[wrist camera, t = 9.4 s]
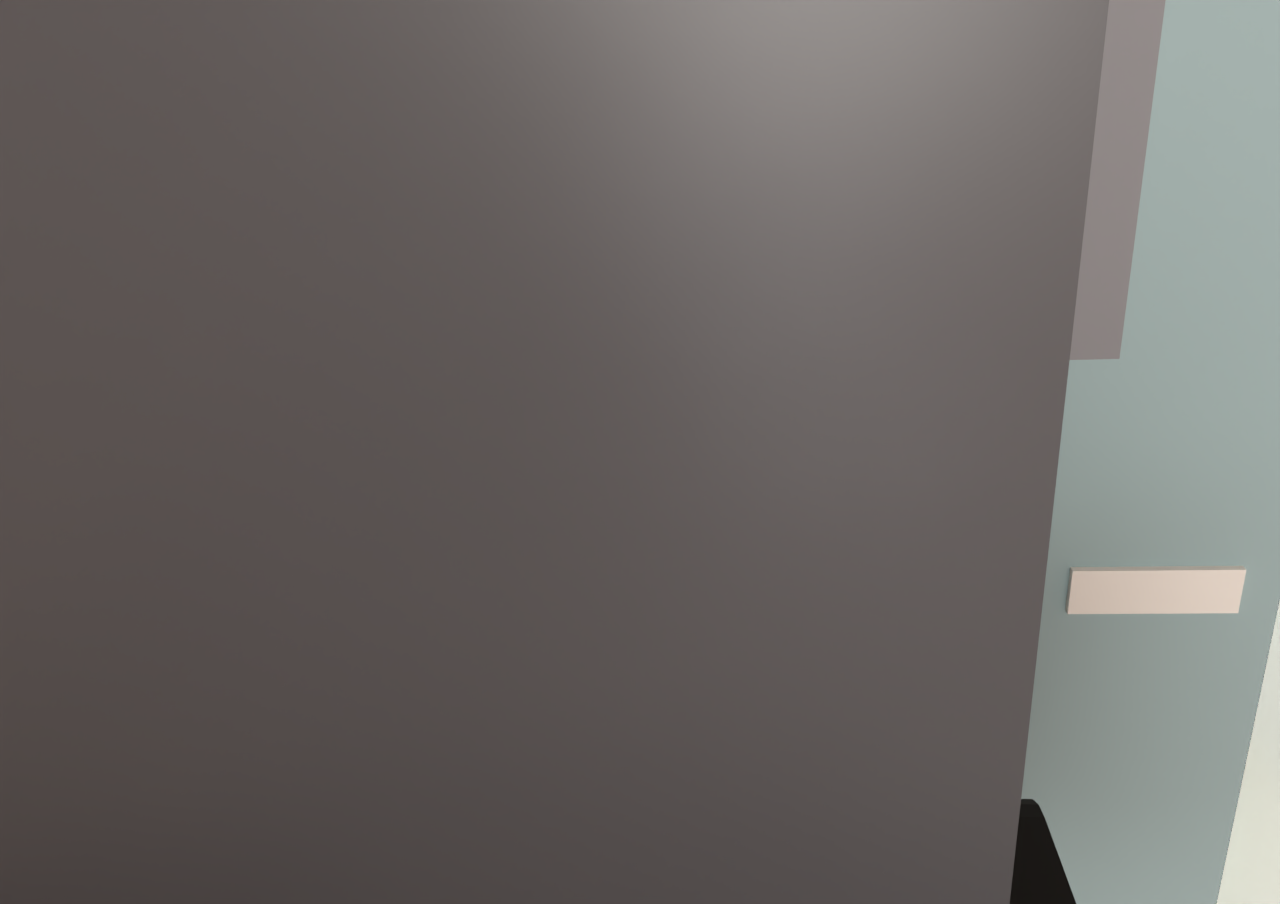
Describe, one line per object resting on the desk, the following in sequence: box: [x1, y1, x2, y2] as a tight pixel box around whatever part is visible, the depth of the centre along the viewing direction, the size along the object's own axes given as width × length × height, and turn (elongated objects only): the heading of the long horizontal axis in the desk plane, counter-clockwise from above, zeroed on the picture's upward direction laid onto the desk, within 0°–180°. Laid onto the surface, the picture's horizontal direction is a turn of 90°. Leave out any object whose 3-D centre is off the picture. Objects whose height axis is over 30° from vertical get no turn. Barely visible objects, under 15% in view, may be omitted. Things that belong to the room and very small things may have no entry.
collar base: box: [1021, 0, 1280, 904], centre depth 13 cm, size 16×24×4 cm, turn 3°
